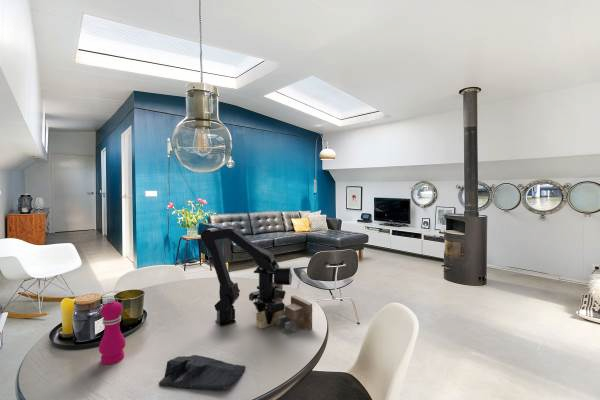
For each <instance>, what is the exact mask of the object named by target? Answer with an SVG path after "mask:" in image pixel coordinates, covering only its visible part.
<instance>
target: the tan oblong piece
mask: <svg viewBox="0 0 600 400" xmlns="http://www.w3.org/2000/svg"><path fill="white" fill-rule="evenodd" d="M284 315H285V309H284V310H282V311H278V312H275V313H274V315H273V318H272V321H271V324H268V323H267V320H266V317H265V313H264V311H262V312H259V313H258V312H256V314H255V316H256V321H255V322H256V326H257V327H258V328H260V329H263V328H267V327H271V326H273V325H277V317H280V316H284Z"/></svg>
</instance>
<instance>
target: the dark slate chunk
mask: <svg viewBox="0 0 600 400" xmlns="http://www.w3.org/2000/svg"><path fill="white" fill-rule="evenodd" d="M165 366H166V368H165V372H164V377H163V378H162V379H161V380H160V381H158V384H159V386H171V387H174V388H182V389H190V388H193V389H196V390H197V389H200V390H210V391H213V390H215V391H218V390H226V389H229V387H230V386H231V385H232V384H233V383H234V382H235V381H237V379H238V378H239V377H241V376H242V374H243V373H244V372H245V370H246V366H245V365H242V364H241V365H239V364H233V363H230V362H226V361H223V360H220V359H215V358H212V357H208V356H203V355H199V354H198V355H197V354H192V355H190V356H187V355H183V356H176V357H174V358H172V359H170V360H168V361H167V362H166V365H165ZM183 374H184V375H183ZM182 375H183V376H182ZM181 376H182V379H180V377H181ZM177 379H180V380H177Z"/></svg>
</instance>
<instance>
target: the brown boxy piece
mask: <svg viewBox="0 0 600 400" xmlns="http://www.w3.org/2000/svg"><path fill="white" fill-rule="evenodd" d="M276 328H277V329H279V330H281V329H284V333H285V334H286V335H290V334H292V333H295V332H296V331H298V330H301V329H306V330H308V331H311V330H313V303H311V302H309V301H308V300H305V299H303V298H301V297H298V296H296V295H290V304H287V305H285V315H284V316H280V317H277V324H276Z"/></svg>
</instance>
